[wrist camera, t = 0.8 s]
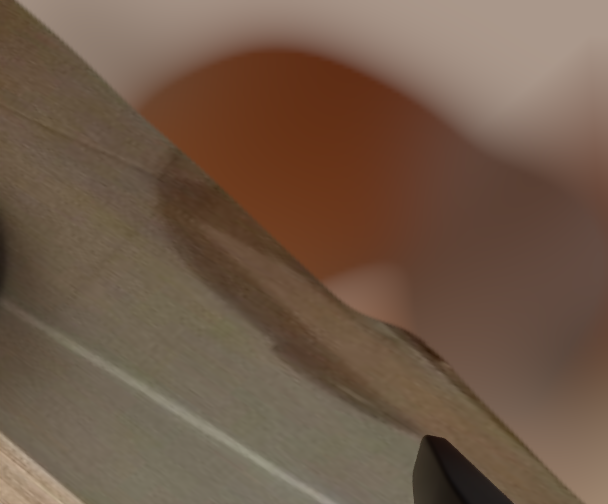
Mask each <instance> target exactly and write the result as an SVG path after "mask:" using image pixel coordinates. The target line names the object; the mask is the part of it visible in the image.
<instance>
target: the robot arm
mask: <svg viewBox="0 0 608 504" xmlns="http://www.w3.org/2000/svg"><path fill="white" fill-rule="evenodd" d="M413 494H414V504H514V503H513V502H512V501H511V500H510V499H508V498H507V497H506V496H505V495H504V494H503V493H502V492H501V491H500V490H499V489H498V488H497V487H496V486H495V485H494V484H493V483H492V482H491V481H490V480H488V479H487V478H486V477H485V476H484V475H483V474H482V473H481V472H480V471H479V470H478V469H477V468H476V467H475V466H474V465H473V464H472V463H471V462H469V461H468V460H467V459H466V458H465V457H464V456H463V455H462V454H461V453H460V452H459V451H458V450H457V449H456V448H455V447H454V446H453V445H452V444H451V443H449V442H448V441H447V440H446V439H444V438H440V437H436V436H431V435H425V436H424V437H423V439H422V441H421V444H420V448H419V451H418V455H417V459H416V462H415V466H414V470H413Z"/></svg>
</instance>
